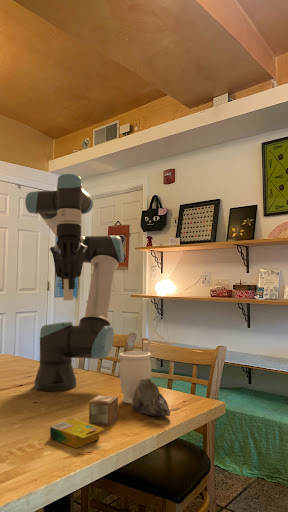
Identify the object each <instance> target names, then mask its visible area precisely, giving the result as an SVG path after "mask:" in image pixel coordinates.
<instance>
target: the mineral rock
mask: <svg viewBox="0 0 288 512" xmlns="http://www.w3.org/2000/svg"><path fill="white" fill-rule="evenodd" d="M131 409H132V410H134V411H138V412H139V413H141V414H145V415H147V416H152V417H156V416H157V417H170V416H171V410H170V408H169V403H168V402H167V400H166V398H165V397H164V396H163V394H162V393H161V392H160V390H159V387H158V384H156V382H154V381H152V378H151V379H150V378H149V379H146V380H144V379H142V380H141V381H140V383H139V384H138V386H137V388H136V391H135V394H134V397H133V400H132V404H131Z"/></svg>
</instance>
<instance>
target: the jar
mask: <svg viewBox="0 0 288 512" xmlns="http://www.w3.org/2000/svg"><path fill="white" fill-rule="evenodd" d="M118 356H119V358H120V361H119V367H118V368H119V370H118V371H119V372H118V375H119V381H120V389H121V393H122V394H123V397H122V399H121V400H122V402H123V403H125V404H130V405H132V400H133V397H134V394H135V391H136V388H137V386H138V384H139V383H140V381H141V380H142V379H144V380H146V379H149V378H150V379H151V380H152V363H151V360H150V358H151V357H152V353H151V352H149V351H148V352H147V351H143V350H131V351H124V352H123V351H122V352H120V353H119V355H118Z"/></svg>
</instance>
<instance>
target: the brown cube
mask: <svg viewBox="0 0 288 512" xmlns="http://www.w3.org/2000/svg"><path fill="white" fill-rule="evenodd" d="M88 403H89V405H88V411H89V412H88V424H92V425H95V426H103V427H104V426H105V427H111V426H113V424H114V423H115V422H117V420H118V419H119V397H118V396H109V395H99V394H98V395H96V396H95V397H93V398H92V399H90V400H89V401H88Z"/></svg>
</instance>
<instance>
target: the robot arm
mask: <svg viewBox="0 0 288 512" xmlns="http://www.w3.org/2000/svg"><path fill="white" fill-rule="evenodd" d="M82 183H83V182H82V178H81V176H79V175H78V174H73V173H64V174H61V175H59V176H58V177H57V185H56V190H37V191H29V192H28V193H27V194H26V195H25V200H24V202H25V204H24V205H25V208H26V210H27V212H28V213H29V214H35V215H37V214H39V215H40V217H41V218H42V220H43V221H44V222H45V223H46V225H47V226H48V227H49V229H50V230H51V231H52V233H53V234H54V235H55V236H56V238H57V241H56V244H55V245H54V246H51V247H50V248H49V251H50V252H51V254H52V258H53V264H54V269H55V275H56V277H57V278H60V279H61V289H62V290H63V301H73V299H74V290H75V289H76V288H75V287H76V286H75V285H76V278H79V277H81V276H82V270H83V266H84V263H85V264H91V266H92V267H93V270H92V274H91V281H90V286H89V290H88V297H87V302H86V308H85V312H84V316H82V317H81V318H80V319H79V323H78V325H73V322H72V321H64V322H63V321H62V322H55V323H54V322H53V323H50V324H45V325H42V327H41V328H40V333H39V365H38V370H37V372H36V376H35V379H34V386H33V387H34V390H37V391H42V392H61V391H68V390H70V389H71V390H72V389H73V388H75V387H76V386H77V378H76V374H75V371H74V368H73V364H72V363H73V359H94V360H98V359H104V358H105V359H106V358H107V357H108V356H109V354H110V353H111V351H112V348H113V344H114V335H115V332H114V328H113V326H111V323H110V321H109V320H108V314H109V308H110V301H111V295H112V287H113V280H114V274H115V271H116V270H117V269H118V268H119V264H122V263H123V262H124V260H125V255H124V253H125V251H124V246H123V242H122V241H123V240H122V238H121V237H120V236H119V235H112V234H111V235H87V236H86V235H82V226H81V224H82V215H85V214H87V213H90V211H91V210H92V209H93V206H94V200H93V197H92V196H91V195H90V194H89V192H87V191H86V190H84V188H83V184H82Z"/></svg>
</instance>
